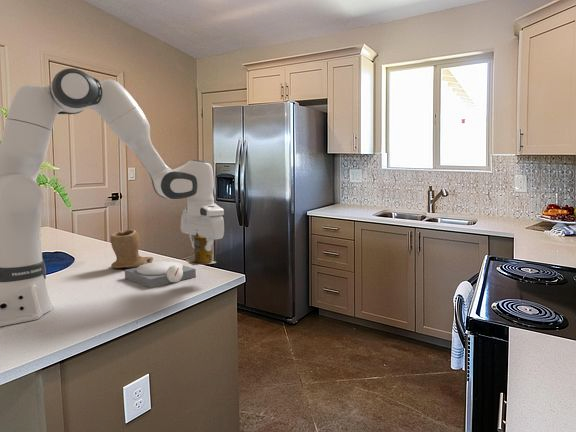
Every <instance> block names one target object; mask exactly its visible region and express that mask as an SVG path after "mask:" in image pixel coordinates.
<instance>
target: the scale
mask: <svg viewBox="0 0 576 432" xmlns="http://www.w3.org/2000/svg"><path fill="white" fill-rule="evenodd" d="M196 271H197V270H196V268H194V267H190V266H187V265H184V264H182V263H181V262H178V261H170V260H169V261H167V260H166V261H154V262H153V261H152V263H148V264H144V265H141V266H139V267H131V268H128V269H127V268H126V269H124V278H125V279H127V280H129V281H132V282H134V283H137V284H139V285H143V286H144V287H147V288H149V289H152V288H157V287H160V286H161V287H162V286H164V285H168V284H172V283H177V282H181V281H185V280H189V278H190V279H193V277H194V278H196V277H197V274H196V273H197V272H196Z"/></svg>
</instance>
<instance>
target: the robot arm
mask: <svg viewBox="0 0 576 432" xmlns="http://www.w3.org/2000/svg"><path fill="white" fill-rule="evenodd" d="M87 109H89V110H92V111H94V112H95V113H97V114H98V115H99V116H101V118H102V119H103V121H104V123H106V125H107V126H108V128H109V130H111V132H113V134H114V136H116V137H117V138H118V139H119V140H120V141H121V142H122V143H123V144H124V145H125V146H126V147H127V148H129V150H131V151H132V153H133V154H135V156H136V157H137V159H138V160H139V162H140V163H141V164H142V166H143V167H144V168H145V170H146V171H147V174H148V175H149V177H150V179H151V184H152V188H153V190H154V192H155V193H156V195H157V196H159V198H162V199H166V200H167V199H168V200H172V201H177V200H178V201H179V200H182V199H187V200H186V203H187V206H185V207H184V209H182V213H181V216H180V217H181V218H180V231H181V233H182V234H187V235H189V240H190V242H191V247H192V248H194V236H195V235H196V233H198V236H200V237H205V238H206V241H207V244H206V245H205V250H206V251H211V250H212V251H213V243H214V241H215V240H221V239H223V237H224V235H225V221H224V217H223V216H224V215H225V210H224V208H222V207H221V206H219V205H218V204H217V203H215V197H214V188H215V180H214V179H215V178H214V171H213V167H212V165H211V163H209V162H208V161H203V160H200V159H199V160H198V159H190V160H188V161H187V162H186V163H185V164H183V165H180V166H178V167H176V168H174V169H172V168H171V167H169V166H168V165H166V163H165V161H164V160H163V158H162V157H161V155H160V154H159V153H158V150H157V149H156V148H155V147H154V145H153V143H152V139H151V125H150V123H149V120H148V118H147V116H146V115H145V113H144V112H143V109H142V108H141V107H140V106H139V104H138V102H137V101H136V100H135V98H133V96H132V95H131V93H130V92H129V91H128V90H127V89H126V88H125V87H124V86H123V85H122V84H120V83H119V81H117V80H114V79H104V80H102V81H100V80H99V79H97V78H95V77H94V76H91V75H89V73H86V72H85V71H83V70H80V69H78V68H75V67H74V68H70V67H69V68H65V69H62V70H60V71H58V72H57V73H56V74H55V75H54V77H53V79H52V81H51V82H50V83H49V84H48V85H47V86H39V85H35V84H24V85H22V86H20V87H19V88H18V89H17V90H16V92H15V94H14V96H13V99H12V100H11V103H10V105H9V109H8V112H7V115H6V120H5V123H4V126H3V127H4V128H3V132H2V136H1V141H0V327H4V326H9V325H10V326H11V325H14V324H15V325H16V324H19V323H24V322H25V323H26V322H31V321H36V320H38V319H40V318H41V317H43V316H44V315H45V314H47V313H49V312H50V311H51V310H52V309H53V308H54V307H53V306H54V305H53V303H52V300H51V299H50V298H51V297H50V296H49V292H48V288H47V284H46V278H47V269H46V264H45V260H44V259H43V249H42V237H41V236H42V235H41V228H42V227H41V226H42V212H43V210H42V207H43V206H42V205H43V196H44V195H43V191H42V188H41V187H40V185H39V183H38V182H37V179H38V177H39V174H40V171H41V169H42V167H43V164H44V162H45V160H46V158H47V154H48V149H49V146H50V145H49V144H50V139H51V136H52V131H53V126H54V122H55V119H56V117H57V115H76V114H80V113H82V112H83V111H85V110H87ZM197 230H198V231H197Z"/></svg>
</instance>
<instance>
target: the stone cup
mask: <svg viewBox="0 0 576 432" xmlns="http://www.w3.org/2000/svg"><path fill="white" fill-rule="evenodd" d="M109 241H110V244H111V248H112V250H113V253H114V254H115V256H116V260H115V261H113V262H112V263H111V267H112V268H114V269H125V268H126V269H127V268H128V269H131V268H137V267H139V266H141V265H144V264H148V263H153V261H154V257H153V256H141V255H140V254H139V253H140V252H139V249H140V236H139V233H138V232H137V230H135V229H126V230H124V231H123V230H120V231H119V230H118V231H115V232H114V233H112V234H111V235H110V240H109Z"/></svg>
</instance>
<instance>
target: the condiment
mask: <svg viewBox="0 0 576 432" xmlns="http://www.w3.org/2000/svg"><path fill="white" fill-rule="evenodd" d="M197 231H198V230H197ZM206 244H207V241H206V238H205V237H200V236H198V233H196V235H195V236H194V250H193V251H194V259H192V260H190V259H189V260H185V262H186V263H188V265H191V266H199V265H200V266H201V265H208V264H209V265H210V264H211V265H212V264H216V263H217V261H214V260H213V249H212V250H211V251H206V250H205V245H206Z"/></svg>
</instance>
